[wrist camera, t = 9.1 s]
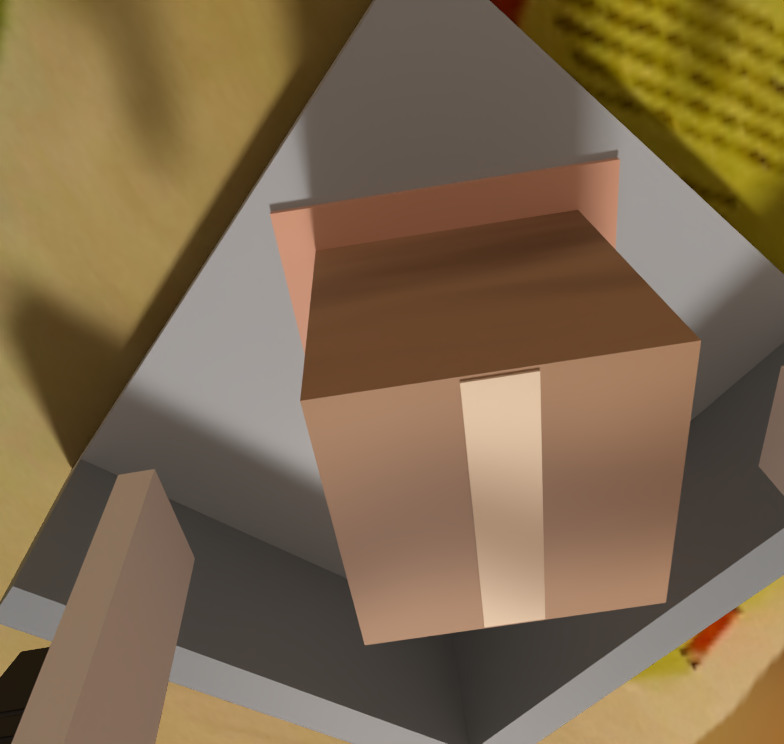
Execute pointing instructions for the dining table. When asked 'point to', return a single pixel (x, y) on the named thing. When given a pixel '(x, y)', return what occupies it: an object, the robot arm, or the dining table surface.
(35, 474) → the dining table surface
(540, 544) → the cardboard box
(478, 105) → the tray
